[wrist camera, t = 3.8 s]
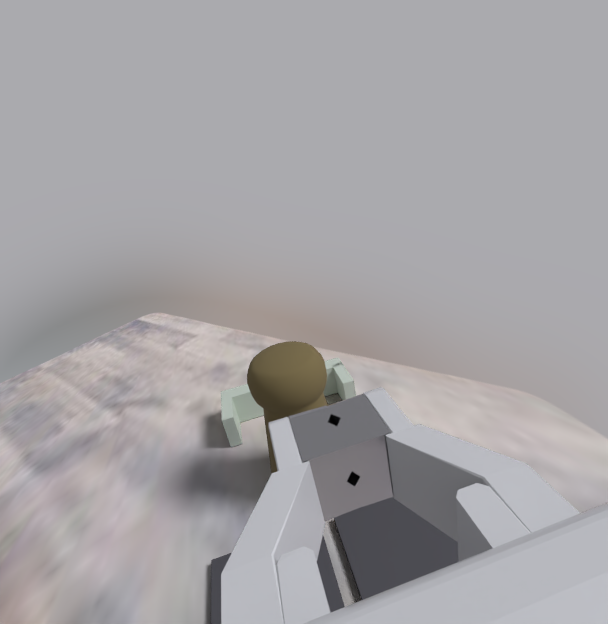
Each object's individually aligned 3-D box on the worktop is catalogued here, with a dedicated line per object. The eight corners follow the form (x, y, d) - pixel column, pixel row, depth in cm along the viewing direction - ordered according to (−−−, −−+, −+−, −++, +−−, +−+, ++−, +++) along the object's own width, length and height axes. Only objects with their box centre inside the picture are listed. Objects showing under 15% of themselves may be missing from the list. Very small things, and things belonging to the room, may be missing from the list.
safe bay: (231, 447, 32) (221, 420, 31) (229, 416, 36) (220, 391, 35) (358, 407, 33) (353, 380, 32) (342, 381, 37) (338, 357, 36)
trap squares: (213, 720, 16) (209, 715, 16) (213, 565, 22) (211, 560, 22) (508, 596, 18) (508, 590, 18) (431, 486, 24) (431, 481, 24)
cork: (297, 531, 23) (257, 394, 19) (260, 473, 28) (222, 354, 24) (369, 481, 26) (348, 350, 21) (323, 436, 31) (299, 322, 26)
